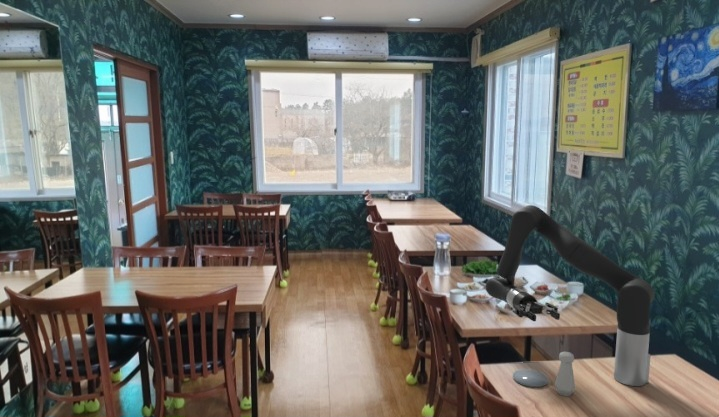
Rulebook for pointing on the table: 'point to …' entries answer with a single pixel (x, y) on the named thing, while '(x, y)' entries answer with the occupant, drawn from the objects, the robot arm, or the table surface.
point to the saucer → (530, 378)
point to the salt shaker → (565, 375)
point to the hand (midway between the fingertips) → (547, 317)
